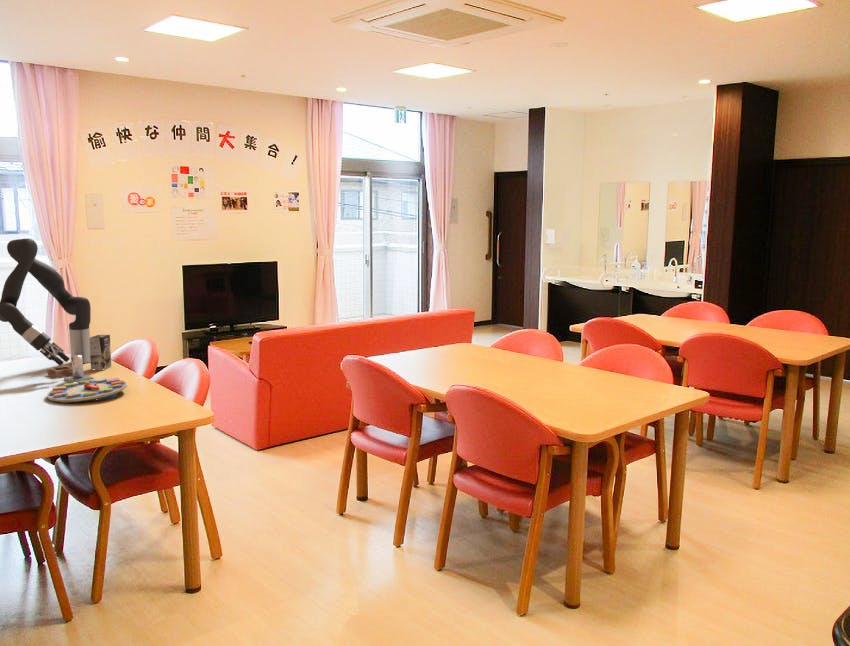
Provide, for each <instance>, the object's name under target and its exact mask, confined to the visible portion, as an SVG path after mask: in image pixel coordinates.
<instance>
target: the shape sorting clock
mask: <svg viewBox="0 0 850 646" xmlns="http://www.w3.org/2000/svg"><path fill="white" fill-rule="evenodd" d="M127 387H128V382H127V381H126V380H124V379H120V378H119V377H114V378H113V377H112V378H110V379H109V378H107V377H100V378H94V380H83V381H79V382H77V383H72V382H68V383H64V384H63V385H61V386H59V387H53V388H52V390H50V391H48V392H47V394H46V398H47V399H48V400H49V401H52V402H57V403H58V402H60V403H61V404H71V402H73V403H82V402H81V401H83V402H89V401H88V400H93V401H97V400H96V399H103V400H109V399H108V398H113V399H115V398H116V396H117V394H118V393H120V392H121V391H123V390H126V388H127Z"/></svg>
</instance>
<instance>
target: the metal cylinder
mask: <svg viewBox="0 0 850 646" xmlns="http://www.w3.org/2000/svg"><path fill="white" fill-rule="evenodd" d="M71 361H72V363H71V367H72V373H73V375H72V377H73V378H74V379H78V378H83V377H84V375H85V372H84V363H83V360H82V355H74V356H71V355H70V362H71Z"/></svg>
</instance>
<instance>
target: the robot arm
mask: <svg viewBox="0 0 850 646" xmlns="http://www.w3.org/2000/svg"><path fill="white" fill-rule="evenodd" d="M6 250H7V252H8V254H9V256H10V257H11V258H12V259H13V260H14V261H15V262H16V263H17V265H16V266H15V267H14V268H13V270H12V271H11V272H10V274H9V275H8V276H7V278H6V280H5V282H4V285H3V288H2V292H1V298H0V321H1V322H3V323H9V325H11V327H12V329H13V330H14V332H16V333H17V334H18V335H19V336H21V338H23V340H24V341H26V342H27V343H28V344H29V345H30V346H32V347H33V348H34V349H35V350H36V351H39V352H40V354H42V355H43V356H44V357H46V359H47V360H49V361H53V362H54V363H56V364H57V365H58V367H62V365H64V363H67V362H68V361H70V362H71V364H72V361H71V356H74V355H82V360H83V364H88V363H91V360H90V339H89V338H90V337H91V335H90V324H91V318H92V317H91V312H92V311H91V303H90V300H89V299H88V298H87V297H83V296H74V295H72V294H71V293H70V292H69V291H68V290H67V289H66V287H65V281H64V278H63V277H62V275H61V274H60V273H59V272H58V271H57V270H56V269H55V268H54V267H52V266H51V265H49V264H47V263H45V262H42V261H41V260H39V259H36V257H37V255H38V244H37V242H36V241H35V240H34V239H32V238H18V239H13V240H10V241H8V243H7V245H6ZM28 273H29V274H30V275H31V276H33V277H34V279H36V280H37V282H38V283H39V284H40V285H41V286H42V287H43V288H44V289H45V290H46V291H47V292H48V293H49V294H50V295H52V297H53V298H54V299H55V300H56V301H57V302H58V304H59V305H60V307H61V308H62V309H63V310H64V311H65V312H66V313H67V314H68V315H72V316H75V319H74V320H73V321H72V322H70V323H69V324H68V329H69V333H68V334H69V346H70V347H69V348H70V357H69V356H67V354H65V352H64V349H63V348H61V347H60V346H58V345H57V344H56V343H55V342H54V341H53V342H50V341H51V337H50V336H48V335H47V334H46V333H45V332H44V331H43V330H42V329H40V328H39V327H38V326H36V325H34V323H32V322H31V321H30V320H29V319H28V318H26V317H25V316H24V314H23V313H22V311H20V310H19V308H17V305H18V302H19V299H20V296H21V293H22V289H23V286H24V283H25V280H26V277H27V275H28ZM87 362H88V363H87Z"/></svg>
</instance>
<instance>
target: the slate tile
mask: <svg viewBox="0 0 850 646" xmlns="http://www.w3.org/2000/svg"><path fill="white" fill-rule="evenodd" d="M90 379H95V378H94V376H93V377H92V376H89V375H87V374H84V377H83V378H78V379H74V378H73V376H66V377H63V380H64V381H66V380H67V381H66V382H69V381H70V382H69V383H72V382H79V381H83V380H90Z"/></svg>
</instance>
